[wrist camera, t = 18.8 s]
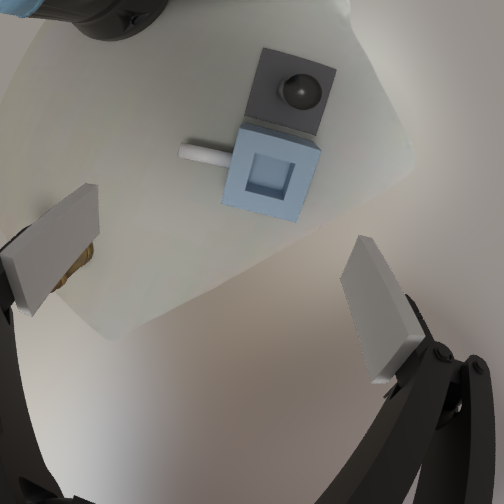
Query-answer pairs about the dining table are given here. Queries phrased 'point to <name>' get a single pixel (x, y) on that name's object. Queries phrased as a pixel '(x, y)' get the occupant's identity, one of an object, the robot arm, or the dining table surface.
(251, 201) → the block
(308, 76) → the bottle
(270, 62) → the mat
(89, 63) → the dining table surface
